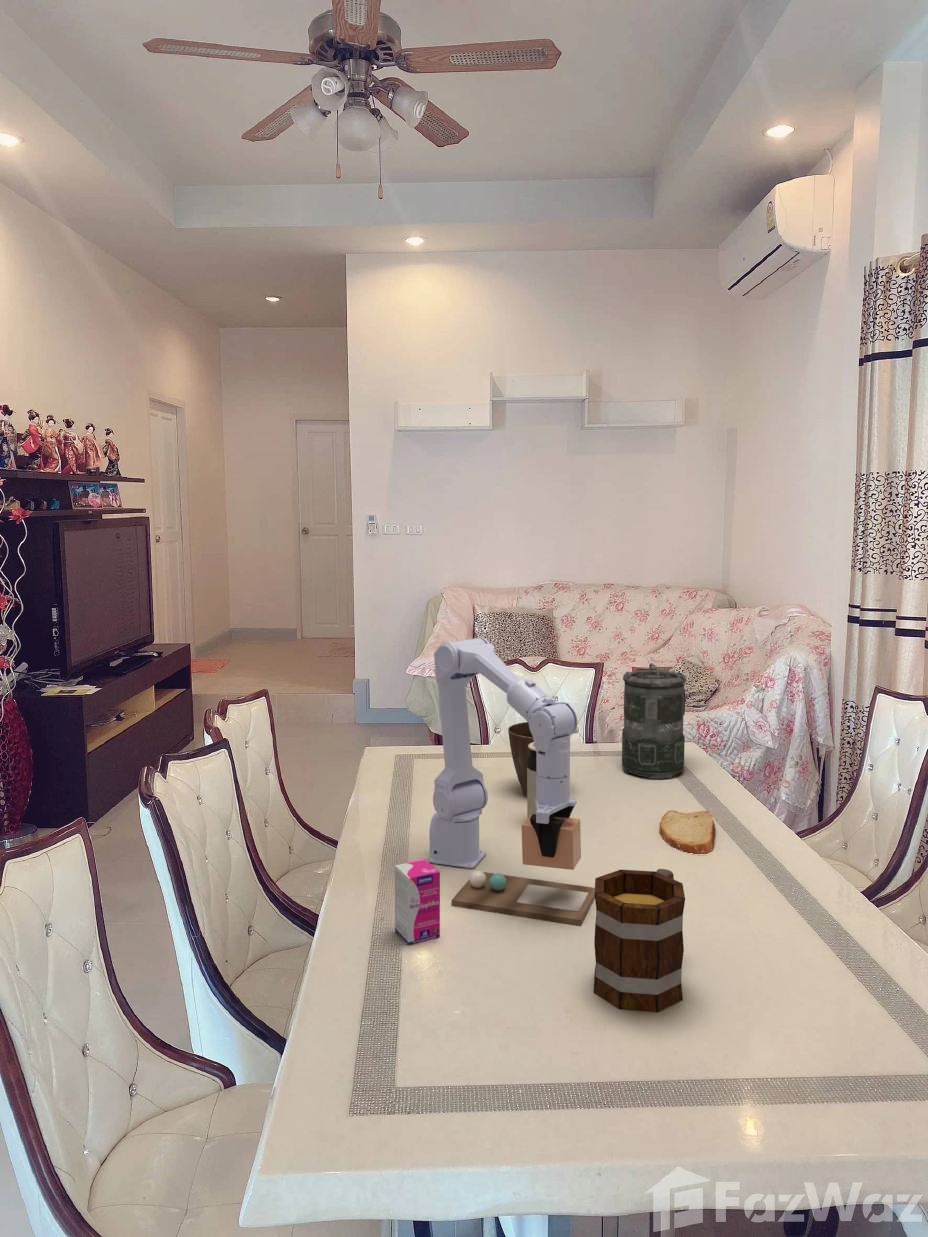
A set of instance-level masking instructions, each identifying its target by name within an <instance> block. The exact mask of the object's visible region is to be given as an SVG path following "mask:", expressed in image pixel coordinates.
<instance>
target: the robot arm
mask: <svg viewBox="0 0 928 1237" xmlns="http://www.w3.org/2000/svg"><path fill="white" fill-rule="evenodd" d="M433 658H434V660H433V661H434V670H435V679H436V683H437V692H438V702H439V715H440V716H439V717H440V723H441V724H440V725H441V726H440V727H441V738H442V746H443V758H444V760H443V761H444V768H443V770H442V771H441V772H440V773H439V774H438V775H437V776H436V778H435V779H434V780H433V781H434V783H433V784H434V792H433V796H432V803H433V804H432V805H433V809H434V810H435V813H434V814H433V815H432V818H431V820H430V824H429V829H428V830H429V831H428V832H429V859H428V860H427V861H428V862H429V863H430V864H437V865H446V866H452V867H453V866H454V867H457V868H458V867H459V868H460V867H461V868H465V869H474V868H475V867H477V865H478V864H479V863H480V862H481V861H482V860H483V858H484V857H485V856H486V855H487V850H486V851H485V850H480V815H483V810H484V809H485V807H486V806H487V804H488V800H489V794H488V793H489V792H488V790H487V787H486V785H485V781H484V773H483V772H481V771H480V770H478V769H477V768H476V767H474V766H473V758H472V748H471V747H472V746H471V738H470V737H471V736H470V727H469V726H470V724H469V712H468V705H467V704H468V702H467V701H468V700H467V691H466V687H467V685H468V684H469V683H471V680H472V679H473V678H474V677H475V676H478V675H479V674H480V675H482V676H483V677H484V678H485V679H487V680H488V681H489V682H491V683H492V684H494V685H495V686H496V687H497V688H498V689H500V690H501V691H502V692H504V693H505V694H506V701H507V704H508V705H509V706H510V707H511V708H512V709H513V710H514V711H516V712H517V713H518V714H519V715H520V717H522V718H523V719H524V720H525V721H526V722H529V728H530V731H531V733H532V735H533V739H534V746H535V749H536V751H537V773H536V798H535V803H536V808H537V811H536V814H532V816H531V817H530V823H531V825H532V826H533V828H534V830H535V832H536V835H537V838H538V841H539V846H540V850H541V854H542V856H544V857H551V858H554V856H555V853H556V848H557V841H558V835H559V831H560V829H561V826H562V824H563V822H564V820H563V819H555V817H563V818H571V815H572V812H573V811H574V808H575V806H576V805H577V799H575V798H572V797H571V796H570V794H571V792H570V790H571V788H570V787H571V782H570V781H571V768H570V767H571V764H570V763H571V735H573V734H574V733H575V732H576V730H577V728H578V716H577V714H576V712H575V710H574V708H573V707H572V706H571V705H570V704H569V703H568V702H566V701H558V700H554V698H553V697H552V696H550V695H548V694H547V693H546V692H544V691H543V690H542V688H540V687H539V686H537V682H536V681H535V680H533V679H532V678H531V679H529V678H521V679H520V678H519V677H518V676H517V674H516V673H514V672H513V671H512V669H510V667H508V665H507V664H505V662H504V661H503V660H502V659H501V658H500V657H499V656H497V654H496V649H495V646H494V644H492V643H490V642H489V640H488V639H487V638H485V637H482V636H479V637H476V638H471V639H464V640H463V639H462V640H456V641H444V642H443V641H442V642H441V643H440V644H439V646H438V647H437V649H436V650H435V651H434V653H433Z"/></svg>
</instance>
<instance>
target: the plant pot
mask: <svg viewBox="0 0 928 1237" xmlns="http://www.w3.org/2000/svg"><path fill="white" fill-rule="evenodd" d="M507 731H508V732H507V733H508V738H509V739H508V740H509V747H510V752H511V757H512V758H511V759H512V762H513V765H514V770H515V773H516V777H517V779H518V783H519V785H520V788H521V791H522V794H523V795H524V796H525V797H527V759H528V757H529V755H530V749H529V747H528V745H529V744H530V743H532V742H534V739H533V735H532V733H531V731H530V728H529V722H528V721H525V722H518V723H515V724H514V723H513V724H512V725H510V726H509V727H508V728H507Z"/></svg>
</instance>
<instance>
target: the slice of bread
mask: <svg viewBox="0 0 928 1237" xmlns="http://www.w3.org/2000/svg"><path fill="white" fill-rule="evenodd" d="M658 829H659V830H658V831H659V832H658V833H659V834H660V835H661V838H662V840H663V842H665V843H666V844H667V843H668V844H667V845H668V846H669V845H670V847H671V848H673V849H675V848H676V849H675V850H677V849H678V850H677V851H679V850H680V852H682V851H683V852H682V853H685V852H687V853H686V854H689V853H693V854H692V855H694V854H708V853H710V852H713V850H714V847H715V838H716V824H715V821H714V819H713V816H712V814H711V812H710V811H709V810H700V811H694V812H688V813H687V812H681V811H680V812H679V811H677V810H673V809H672V810H668V811H667V812H666V813H664V815H663V816H661V820H660V822H659V828H658Z"/></svg>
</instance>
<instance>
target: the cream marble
mask: <svg viewBox="0 0 928 1237" xmlns="http://www.w3.org/2000/svg"><path fill="white" fill-rule="evenodd" d="M483 872H484V871H482V870H474V871H473V872H471V873H470V875H469V879H470V883H471V885H472V886H474V887H476V888H480V887H482V886H483V885H484V884H485V883H486V876H485V874H484V873H483Z"/></svg>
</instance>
